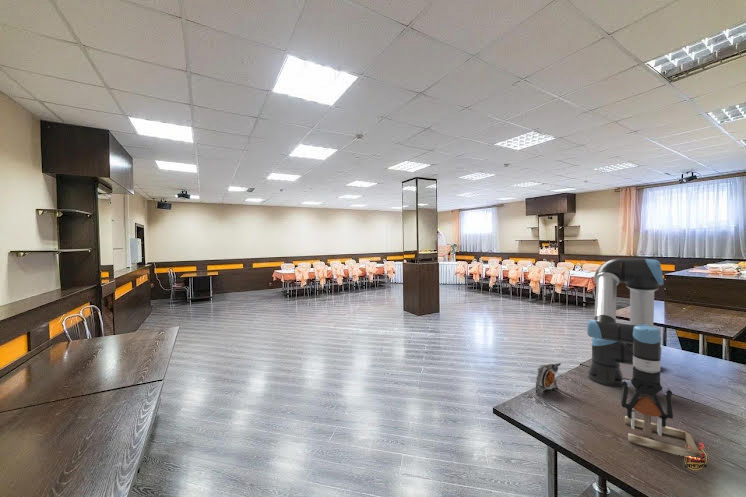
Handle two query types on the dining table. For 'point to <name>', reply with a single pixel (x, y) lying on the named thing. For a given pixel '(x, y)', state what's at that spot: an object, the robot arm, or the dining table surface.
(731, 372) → the dining table surface
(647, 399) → the mushroom
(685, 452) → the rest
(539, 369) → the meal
